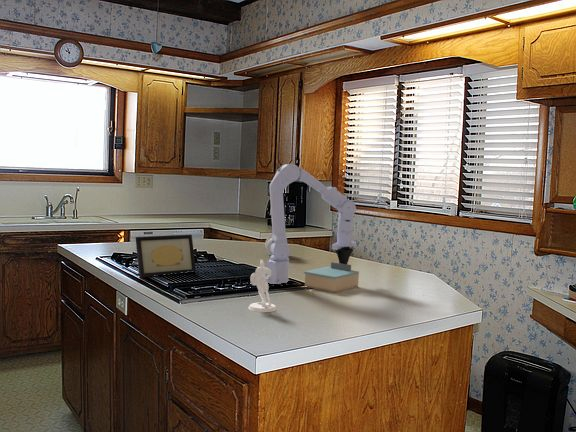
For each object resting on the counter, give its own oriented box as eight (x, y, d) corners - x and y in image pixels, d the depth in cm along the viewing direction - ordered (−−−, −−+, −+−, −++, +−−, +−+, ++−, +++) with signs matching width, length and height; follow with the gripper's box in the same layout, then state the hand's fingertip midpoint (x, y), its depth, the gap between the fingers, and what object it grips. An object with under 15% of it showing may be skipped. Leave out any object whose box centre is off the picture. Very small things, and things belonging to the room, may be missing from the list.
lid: (335, 278, 201) (335, 270, 201) (303, 273, 209) (304, 265, 209) (358, 273, 215) (359, 265, 214) (328, 268, 223) (328, 260, 222)
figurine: (242, 307, 176) (244, 258, 174) (263, 303, 182) (265, 256, 181) (261, 313, 170) (263, 262, 168) (283, 309, 176) (285, 260, 174)
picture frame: (141, 278, 212) (140, 237, 212) (130, 276, 218) (129, 236, 218) (196, 273, 226) (195, 234, 226) (184, 271, 233) (183, 234, 233)
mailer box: (335, 292, 203) (336, 278, 202) (304, 286, 210) (305, 273, 210) (358, 286, 215) (358, 273, 215) (328, 281, 223) (329, 268, 223)
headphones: (287, 259, 270) (289, 216, 268) (265, 258, 269) (267, 215, 267) (284, 253, 288) (286, 213, 286) (264, 252, 287) (266, 212, 286)
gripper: (344, 233, 209) (342, 270, 210) (364, 231, 221) (361, 266, 222) (327, 231, 213) (325, 268, 214) (347, 229, 225) (345, 264, 226)
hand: (343, 267), depth 218 cm, fingers closed
